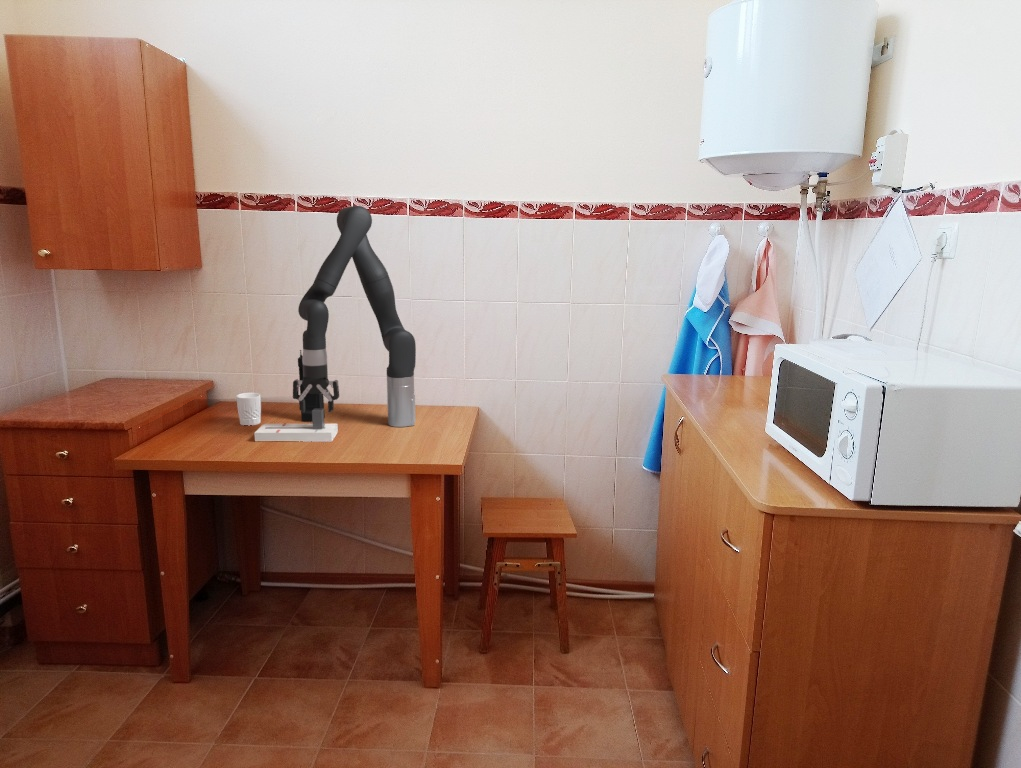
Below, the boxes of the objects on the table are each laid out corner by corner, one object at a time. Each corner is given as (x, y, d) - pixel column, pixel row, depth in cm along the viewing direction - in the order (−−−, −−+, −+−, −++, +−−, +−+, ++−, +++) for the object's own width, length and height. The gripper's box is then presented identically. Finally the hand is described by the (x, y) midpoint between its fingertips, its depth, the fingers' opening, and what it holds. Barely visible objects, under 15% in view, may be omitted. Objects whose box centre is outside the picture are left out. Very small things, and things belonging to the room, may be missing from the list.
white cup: (261, 425, 235) (259, 397, 233) (236, 427, 234) (234, 398, 231) (263, 419, 243) (261, 391, 240) (239, 420, 241) (237, 392, 239)
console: (337, 432, 229) (337, 423, 228) (331, 441, 219) (331, 431, 219) (264, 432, 228) (263, 423, 227) (255, 441, 218) (254, 432, 217)
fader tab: (324, 425, 225) (323, 408, 224) (322, 429, 222) (321, 411, 220) (315, 425, 225) (314, 408, 223) (312, 429, 221) (311, 411, 220)
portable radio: (328, 417, 246) (325, 348, 240) (322, 422, 240) (318, 352, 234) (307, 417, 246) (303, 348, 241) (300, 421, 241) (296, 351, 235)
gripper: (340, 360, 222) (341, 409, 226) (295, 359, 222) (297, 408, 225) (335, 365, 215) (336, 415, 219) (289, 364, 214) (291, 414, 218)
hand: (316, 411), depth 222 cm, fingers open, 8 cm apart
